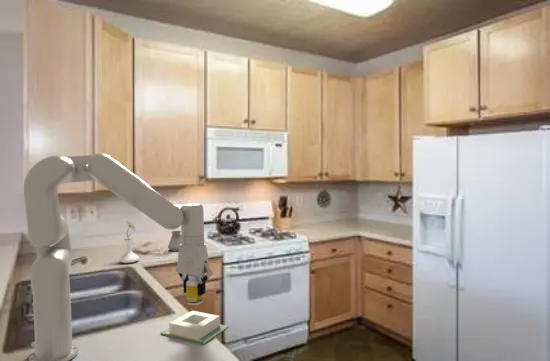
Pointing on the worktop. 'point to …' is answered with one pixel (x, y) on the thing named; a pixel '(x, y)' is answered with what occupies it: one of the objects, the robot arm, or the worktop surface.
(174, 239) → the coffee pot
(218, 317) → the board
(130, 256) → the flower in vase
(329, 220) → the worktop surface
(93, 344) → the worktop surface
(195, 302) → the supplement bottle
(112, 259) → the worktop surface
